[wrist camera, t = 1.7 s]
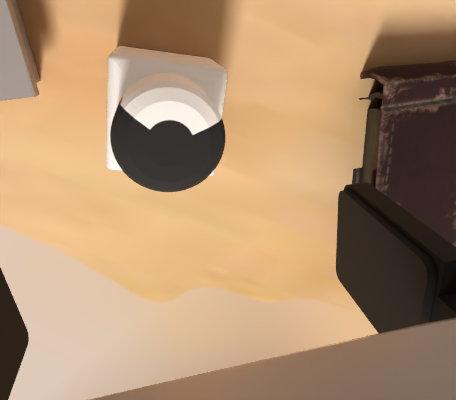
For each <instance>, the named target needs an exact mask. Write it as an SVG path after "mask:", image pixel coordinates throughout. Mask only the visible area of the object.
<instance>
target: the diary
mask: <svg viewBox="0 0 456 400" xmlns="http://www.w3.org/2000/svg"><path fill="white" fill-rule="evenodd" d="M360 77H361V79H365V78H373V79H376V80H377V81H379V82H380V83H381V84H383V85H384V88H383V91H381V92H375V93H373V94H371V95H369V97H368V98H359V100H361V99H369V100H372V99H382V105H381V108H374V109H368V112H367V122H366V133H365V144H364V155H363V166H362V168H357V169H353V180H352V184H356V183H362V182H368V183H369V184H371V185H372V186H373V187H375V188H376V189H377V190H379V191H380V192H382V193H383V194H384V195H386V196H387V197H388V198H390V199H391V200H392V201H394V202H395V203H397V204H398V205H399V206H401V207H402V208H403V209H405V210H406V211H407V212H409V213H410V214H412V215H413V216H414V217H416V218H417V219H418V220H420V221H421V222H422V223H424V224H425V225H427V226H428V227H429V228H431V229H432V230H433V231H435V232H436V233H437V234H439V235H440V236H441V237H443V238H444V239H446V240H447V241H448V242H450V243H451V244H452V245H454V246H455V247H456V61H449V62H441V63H429V64H414V65H400V66H386V67H377V68H374V69H371V70H368V71H365V72H362V73H361V75H360Z"/></svg>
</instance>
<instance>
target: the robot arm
mask: <svg viewBox="0 0 456 400" xmlns="http://www.w3.org/2000/svg"><path fill="white" fill-rule="evenodd" d="M336 273H337V276H338V279H339V280H340V282H341V283H342V285H343V286H344V287H345V289H346V290H347V291H348V293H349V294H350V295H351V297H352V298H353V299H354V301H355V302H356V304H357V305H358V306H359V308H360V309H361V310H362V312H363V313H364V314H365V316H366V317H367V318H368V320H369V321H370V322H371V324H372V325H373V326H374V328H375V329H376V330H377V332H378V333H379V334H375V335H370V336H366V337H362V338H357V339H352V340H348V341H343V342H339V343H335V344H330V345H325V346H321V347H317V348H312V349H308V350H303V351H299V352H295V353H290V354H286V355H281V356H277V357H273V358H268V359H264V360H259V361H255V362H251V363H246V364H242V365H238V366H233V367H229V368H225V369H220V370H216V371H211V372H207V373H203V374H198V375H194V376H189V377H186V378H181V379H176V380H172V381H168V382H163V383H159V384H155V385H150V386H146V387H142V388H137V389H132V390H128V391H124V392H120V393H115V394H111V395H106V396H102V397H97V398H93V399H89V400H456V247H455V246H454V245H452V244H451V243H450V242H448V241H447V240H446V239H444V238H443V237H441V236H440V235H439V234H437V233H436V232H435V231H433V230H432V229H431V228H429V227H428V226H427V225H425V224H424V223H422V222H421V221H420V220H418V219H417V218H416V217H414V216H413V215H412V214H410V213H409V212H407V211H406V210H405V209H403V208H402V207H401V206H399V205H398V204H397V203H395V202H394V201H392V200H391V199H390V198H388V197H387V196H386V195H384V194H383V193H382V192H380V191H379V190H377V189H376V188H375V187H373V186H372V185H371V184H369V183H368V182H362V183H356V184H350V185H346V186H345V188H344V191H340V193H339V197H338V224H337V251H336ZM27 345H28V332H27V329H26V326H25V324H24V322H23V319H22V317H21V315H20V312H19V310H18V308H17V305H16V303H15V301H14V298H13V296H12V294H11V291H10V289H9V287H8V284H7V282H6V280H5V277H4V275H3V273H2V270H1V268H0V400H8V398H9V396H10V393H11V390H12V387H13V384H14V382H15V379H16V376H17V373H18V370H19V368H20V365H21V362H22V359H23V356H24V354H25V351H26V348H27Z"/></svg>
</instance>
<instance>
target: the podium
mask: <svg viewBox="0 0 456 400" xmlns="http://www.w3.org/2000/svg"><path fill="white" fill-rule="evenodd" d="M39 81H40V78H39V74H38V71H37V67H36V64H35V61H34V57H33V54H32V51H31V47H30V44H29V41H28V37H27V34H26V31H25V27H24V24H23V21H22V17H21V14H20V10H19V7H18V4H17V0H0V101H3V100H11V99H20V98H28V97H36V96H37V95H38V94H39V91H38V88H37V84H36V83H37V82H39Z"/></svg>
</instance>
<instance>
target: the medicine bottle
mask: <svg viewBox="0 0 456 400" xmlns="http://www.w3.org/2000/svg"><path fill="white" fill-rule="evenodd" d="M227 76H228V73H227V70H226V69H225V68H223V67H222V66H220V65H219V64H218V63H216V62H215V61H213V60H212V59H210V58H206V57H199V56H192V55H184V54H177V53H169V52H162V51H155V50H147V49H140V48H133V47H125V46H119V47H117V48H116V49H115V50H114V51H113V52H112V53H111V54H110V55H109V57H108V80H107V149H106V164H107V167H108V168H109V169H112V170H123V172H124V173H125V174H126V175H127V176H128V177H129V178H131V179H132V180H133V181H134V182H136V183H138V184H139V185H141V186H143V187H146V188H148V189H151V190H155V191H161V192H176V191H181V190H186V189H188V188H191V187H193V186H195V185H197V184H199V183H200V182H202V181H203V180H205V179H206V178H207V177H208V176H212V175H213V174H214V172H215V168H216V166H217V165H218V163H219V161H220V159H221V157H222V154H223V151H224V146H225V129H224V124H223V120H222V113H223V106H224V98H225V91H226V84H227Z"/></svg>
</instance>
